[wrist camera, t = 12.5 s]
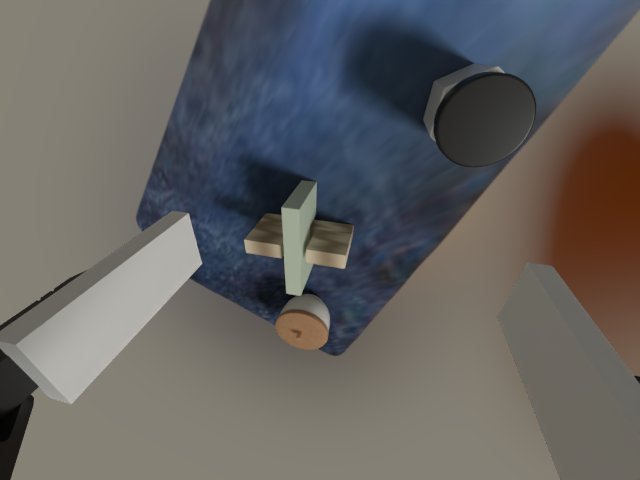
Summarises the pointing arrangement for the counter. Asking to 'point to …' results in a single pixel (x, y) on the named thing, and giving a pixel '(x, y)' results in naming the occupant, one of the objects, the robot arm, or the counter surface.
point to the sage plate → (298, 235)
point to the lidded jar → (304, 322)
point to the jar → (479, 114)
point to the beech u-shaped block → (324, 244)
